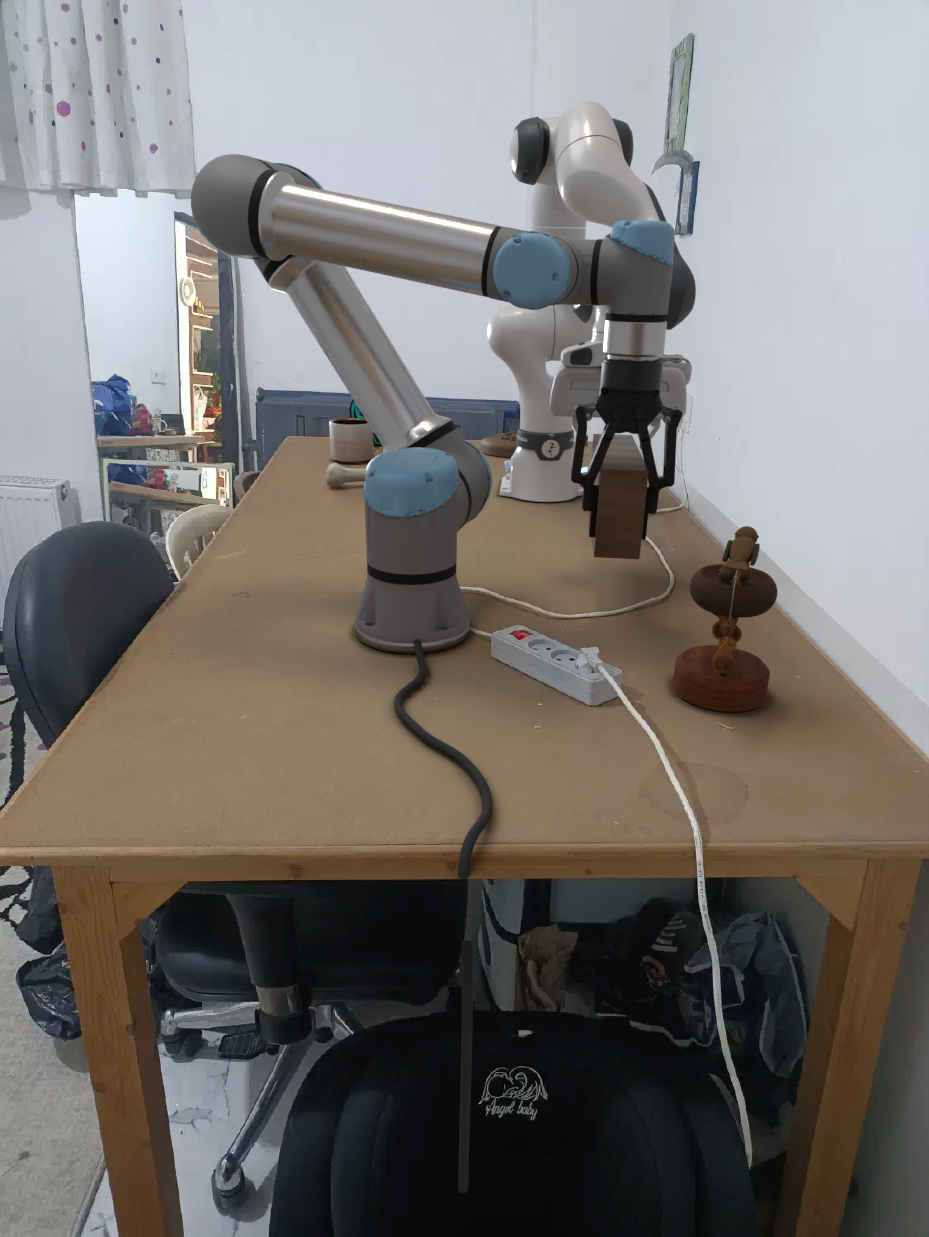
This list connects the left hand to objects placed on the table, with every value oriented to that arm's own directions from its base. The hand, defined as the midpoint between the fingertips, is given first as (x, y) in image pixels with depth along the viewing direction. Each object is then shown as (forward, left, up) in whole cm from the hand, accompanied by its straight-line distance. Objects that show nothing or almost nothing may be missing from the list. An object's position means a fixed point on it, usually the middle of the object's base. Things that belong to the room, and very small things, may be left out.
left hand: (616, 535), depth 114 cm
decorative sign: (+118, +60, -12) cm, 133 cm away
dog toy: (+71, +49, -12) cm, 87 cm away
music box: (-21, -11, -12) cm, 26 cm away
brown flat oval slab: (+110, +17, -12) cm, 112 cm away
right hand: (+19, 0, +8) cm, 21 cm away
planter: (+98, +59, -12) cm, 115 cm away
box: (+10, 0, -2) cm, 10 cm away
